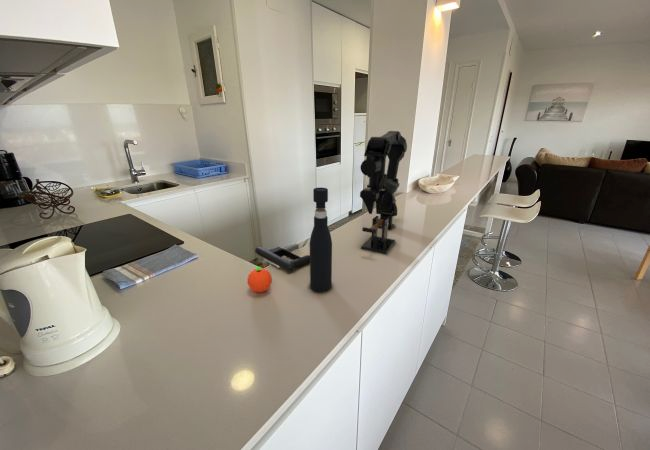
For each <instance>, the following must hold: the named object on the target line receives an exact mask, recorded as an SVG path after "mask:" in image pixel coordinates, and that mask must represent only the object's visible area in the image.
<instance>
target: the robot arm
mask: <svg viewBox="0 0 650 450" xmlns="http://www.w3.org/2000/svg"><path fill="white" fill-rule="evenodd" d="M407 149H408V143H407V140H406V138H405V137H404V136H402V134H401V132H400V131H398V130H389V131H387V132H386V133H384V134H383V135H381V136H371V137H370V138H369V140H368V141H367V144H366V147H365V151H364V154H363V157H365V159H364V160H363V161H362V162H361V164H360V171H361V173H362V174H363V175H364V176H366V177H367V178H368V184H366V187H365V188H363V189H362V190H361V191H360V192H359V197H360V198H361V200H362V201H363V204H364V205H365V208H366V210H367V213H368V214H369V215H372V214H373V212H374V208H375V211H376V212H375V213H376V214H375V215H379V219H385V218H386V217H387V218H389V220H388V230H391V229H393V227H394V226H395V224H394V223H393V218H395V217H398V206H397V199H396V197H395V193H397V191H398V188H400V183H399V178H397V176H398V171H399V166H400V162H401V161H402V160H403V158H404V157H405V154H406V152H407ZM387 159H388V164H387V163H386V162H387V161H386V160H387ZM386 164H387V169H386ZM374 206H375V207H374ZM379 228H380V229H382V227H378V229H379Z"/></svg>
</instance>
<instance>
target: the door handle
mask: <svg viewBox="0 0 650 450" xmlns="http://www.w3.org/2000/svg"><path fill="white" fill-rule="evenodd" d="M299 246H300V245H299V244H298V243H293V244H290V245H287V246H284V247H280V246H276V247H274V248H270V249H267V248H264V247H262V246H256V247H255V249H254V254H257V255H258V256H260V257H262V258H263V259H264V261H265V262H267V263H269V264H271V265H273V266H275V267H277V268H278V269H280V268H281V269H282V270H285V271H287V272H290V273H291V272H293V271H294V270H296V269H298V268H300V267H303V266H305V265H308V264H310V254H306V255H303V256H299V255H297V254H295V253H293V251H296V250H299V248H300V247H299ZM284 257H285V258H288V259H289V260H288V259H285V258H284Z"/></svg>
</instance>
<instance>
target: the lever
mask: <svg viewBox="0 0 650 450" xmlns="http://www.w3.org/2000/svg"><path fill="white" fill-rule="evenodd" d="M383 220H384V219H380V218H379V219H378V220H377V223H376V224H375V225H373V226H372V225H371V226H370V227H364V226H363V227H362V229H361V230H362V232H364V233H370V234H372V233H375V234H377V235H378V233H377V230H376V228H377V227H378V228H379V227H382V224H383Z"/></svg>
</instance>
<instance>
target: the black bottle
mask: <svg viewBox="0 0 650 450" xmlns="http://www.w3.org/2000/svg"><path fill="white" fill-rule="evenodd" d="M312 195H313V196H312V197H313V198H312V199H313V202H314V203H315V210H314V216H313V228H312V229H311V230H312V231H311V233H310V238H309V256H310V263H309V280H310V281H309V282H310V283H309V285H310V286H309V287H310V289H311V290H312V291H313V292H316V293H325V292H329V291H330V290H331V289H332V287H333V286H332V279H333V278H332V275H333V241H332V236H331V232H330V229H329V226H328V223H329V222H328V221H329V220H328V218H329V217H328V216H327V215H328V214H327V213H328V211H327V209H326V208H327V207H326V203H328V202H329V189H328V188H327V187H314V188H313V194H312Z"/></svg>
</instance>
